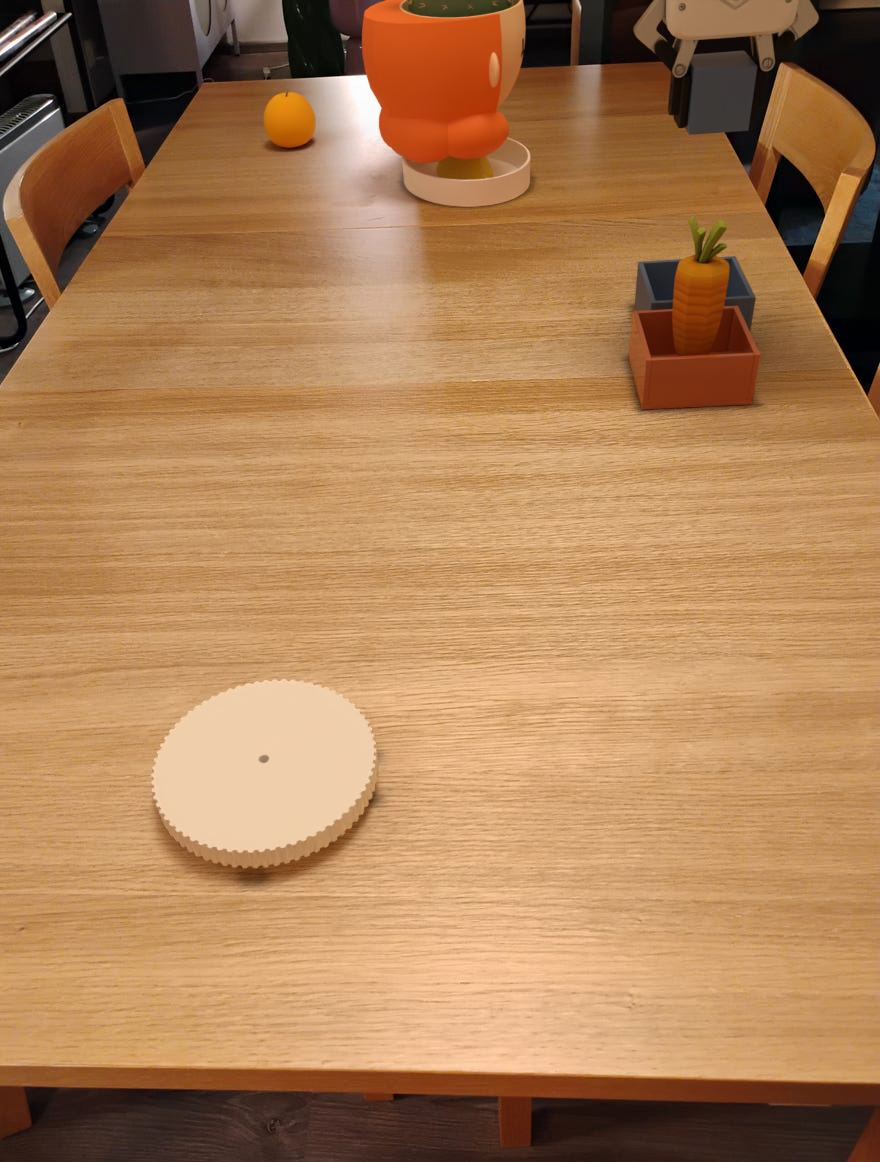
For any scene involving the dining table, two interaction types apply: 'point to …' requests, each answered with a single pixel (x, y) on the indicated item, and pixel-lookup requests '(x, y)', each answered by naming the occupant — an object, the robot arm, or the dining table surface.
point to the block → (721, 92)
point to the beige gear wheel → (265, 773)
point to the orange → (289, 120)
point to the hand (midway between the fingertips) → (713, 118)
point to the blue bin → (660, 280)
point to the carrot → (700, 293)
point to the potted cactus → (449, 95)
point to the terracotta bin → (692, 363)
